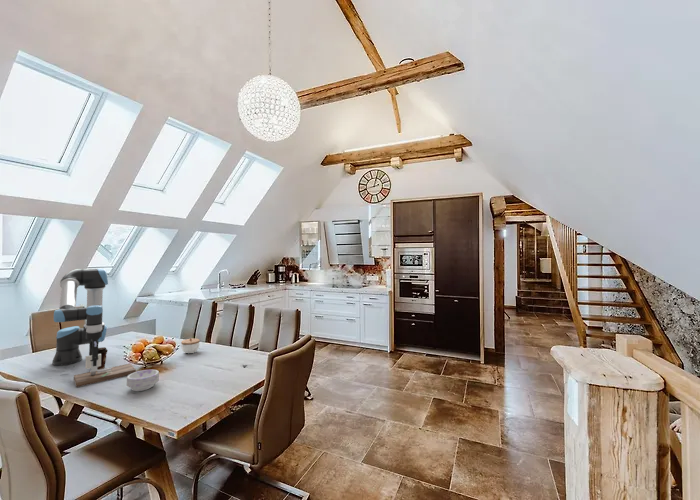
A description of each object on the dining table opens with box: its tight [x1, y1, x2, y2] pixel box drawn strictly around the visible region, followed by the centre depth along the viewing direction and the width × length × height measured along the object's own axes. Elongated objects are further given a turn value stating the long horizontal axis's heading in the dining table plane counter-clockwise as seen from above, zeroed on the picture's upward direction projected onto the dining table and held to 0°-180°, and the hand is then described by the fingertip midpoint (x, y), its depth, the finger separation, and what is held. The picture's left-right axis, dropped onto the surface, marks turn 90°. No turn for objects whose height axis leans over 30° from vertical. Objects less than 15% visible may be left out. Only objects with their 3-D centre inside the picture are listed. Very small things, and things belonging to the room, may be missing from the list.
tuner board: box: [73, 363, 137, 388], centre depth 188 cm, size 15×28×3 cm, turn 137°
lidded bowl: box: [181, 337, 201, 354], centre depth 234 cm, size 13×13×11 cm
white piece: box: [85, 354, 113, 375], centre depth 186 cm, size 2×12×12 cm, turn 137°
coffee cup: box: [97, 347, 108, 370], centre depth 200 cm, size 9×8×13 cm
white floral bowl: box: [126, 369, 160, 392], centre depth 174 cm, size 15×15×8 cm
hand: (93, 369), depth 184 cm, fingers open, 8 cm apart
